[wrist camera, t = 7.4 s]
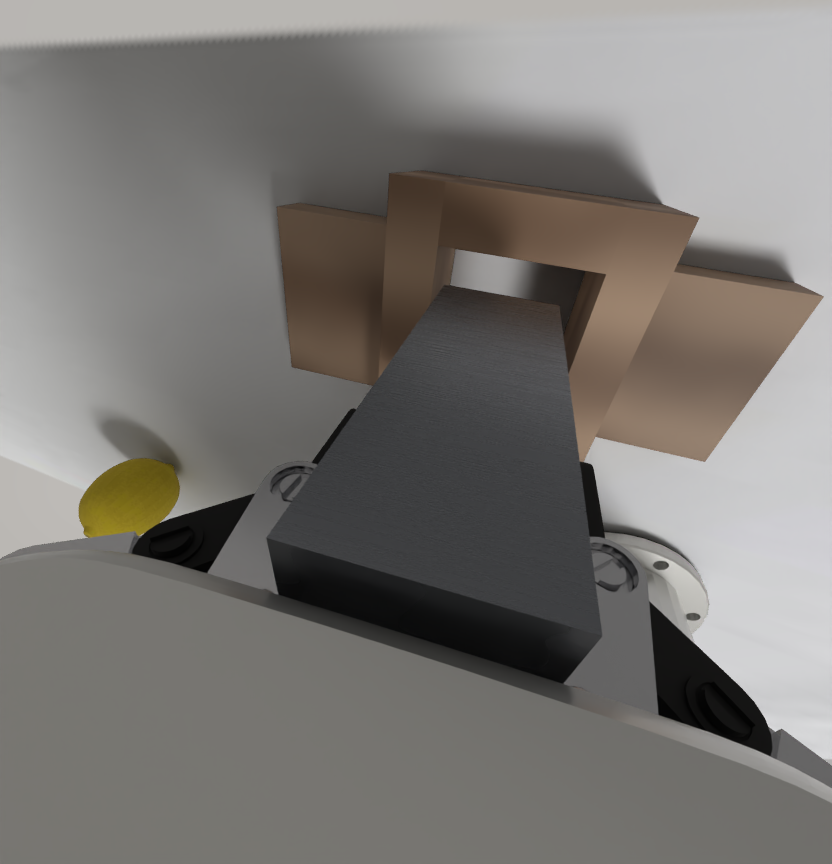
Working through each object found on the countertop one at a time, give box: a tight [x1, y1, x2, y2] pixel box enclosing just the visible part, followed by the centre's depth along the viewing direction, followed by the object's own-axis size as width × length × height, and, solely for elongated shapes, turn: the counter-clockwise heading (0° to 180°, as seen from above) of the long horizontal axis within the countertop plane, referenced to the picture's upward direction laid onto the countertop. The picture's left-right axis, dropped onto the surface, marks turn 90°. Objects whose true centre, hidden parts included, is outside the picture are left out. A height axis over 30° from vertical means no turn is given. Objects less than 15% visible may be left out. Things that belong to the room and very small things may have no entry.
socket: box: [277, 171, 824, 462], centre depth 18 cm, size 12×22×4 cm, turn 83°
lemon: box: [79, 458, 180, 538], centre depth 31 cm, size 6×6×8 cm
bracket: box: [266, 285, 602, 684], centre depth 10 cm, size 6×4×10 cm, turn 173°
